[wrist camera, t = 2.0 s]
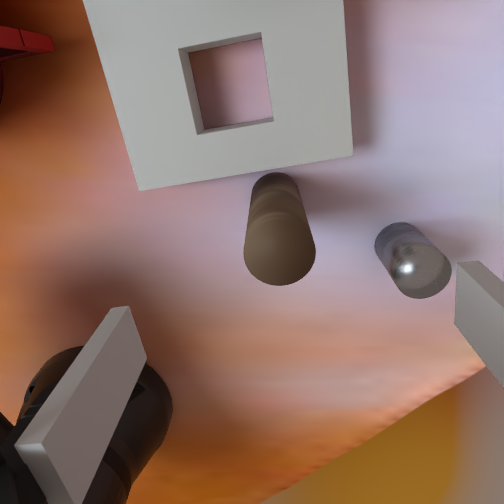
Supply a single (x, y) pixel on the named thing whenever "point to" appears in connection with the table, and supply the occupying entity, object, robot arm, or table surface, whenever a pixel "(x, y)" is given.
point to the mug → (21, 46)
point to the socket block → (184, 92)
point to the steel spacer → (412, 261)
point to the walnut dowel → (278, 232)
